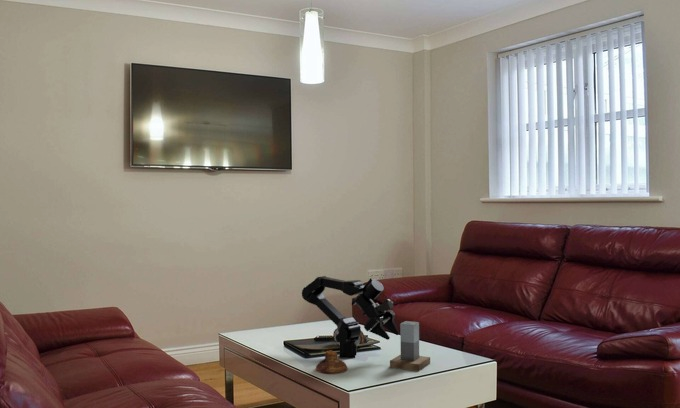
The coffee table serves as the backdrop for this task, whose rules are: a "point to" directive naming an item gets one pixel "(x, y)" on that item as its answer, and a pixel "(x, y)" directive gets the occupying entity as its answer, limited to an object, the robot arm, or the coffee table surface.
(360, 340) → the brown white half disc
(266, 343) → the coffee table surface
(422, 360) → the stand
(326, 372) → the bell
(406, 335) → the block
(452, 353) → the coffee table surface
